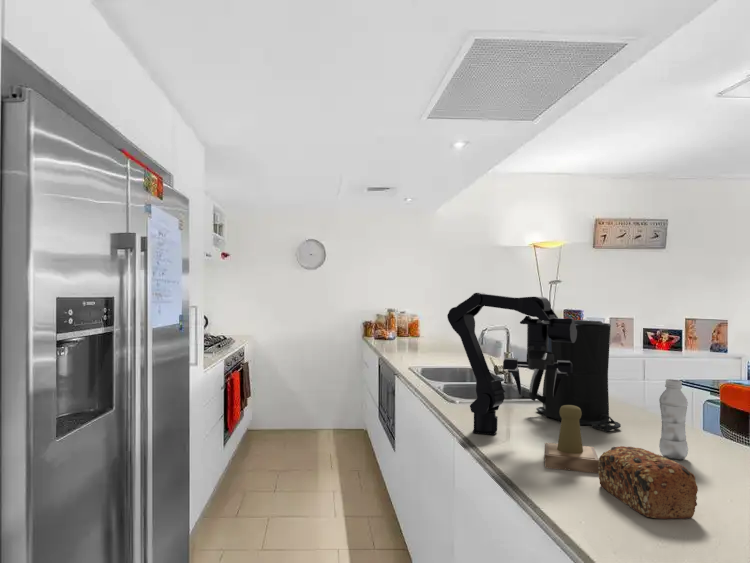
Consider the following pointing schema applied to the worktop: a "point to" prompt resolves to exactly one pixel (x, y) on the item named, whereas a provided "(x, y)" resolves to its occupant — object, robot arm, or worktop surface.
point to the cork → (570, 430)
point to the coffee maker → (579, 376)
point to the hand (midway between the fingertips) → (536, 395)
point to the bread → (648, 482)
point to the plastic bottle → (673, 421)
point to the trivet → (571, 459)
